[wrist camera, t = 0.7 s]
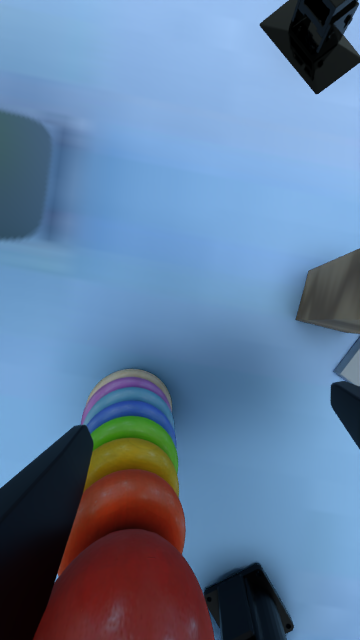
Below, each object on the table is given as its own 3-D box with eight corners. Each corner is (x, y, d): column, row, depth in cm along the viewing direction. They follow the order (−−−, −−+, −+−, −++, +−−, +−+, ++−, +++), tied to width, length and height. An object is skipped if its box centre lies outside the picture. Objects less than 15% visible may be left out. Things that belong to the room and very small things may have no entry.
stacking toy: (175, 433, 23) (344, 969, 4) (95, 454, 21) (-172, 1411, 3) (163, 359, 22) (300, 615, 4) (79, 376, 21) (-398, 948, 2)
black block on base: (243, 25, 23) (255, -49, 18) (301, -22, 22) (329, -109, 18) (316, 118, 22) (347, 65, 18) (377, 71, 22) (426, 5, 17)
